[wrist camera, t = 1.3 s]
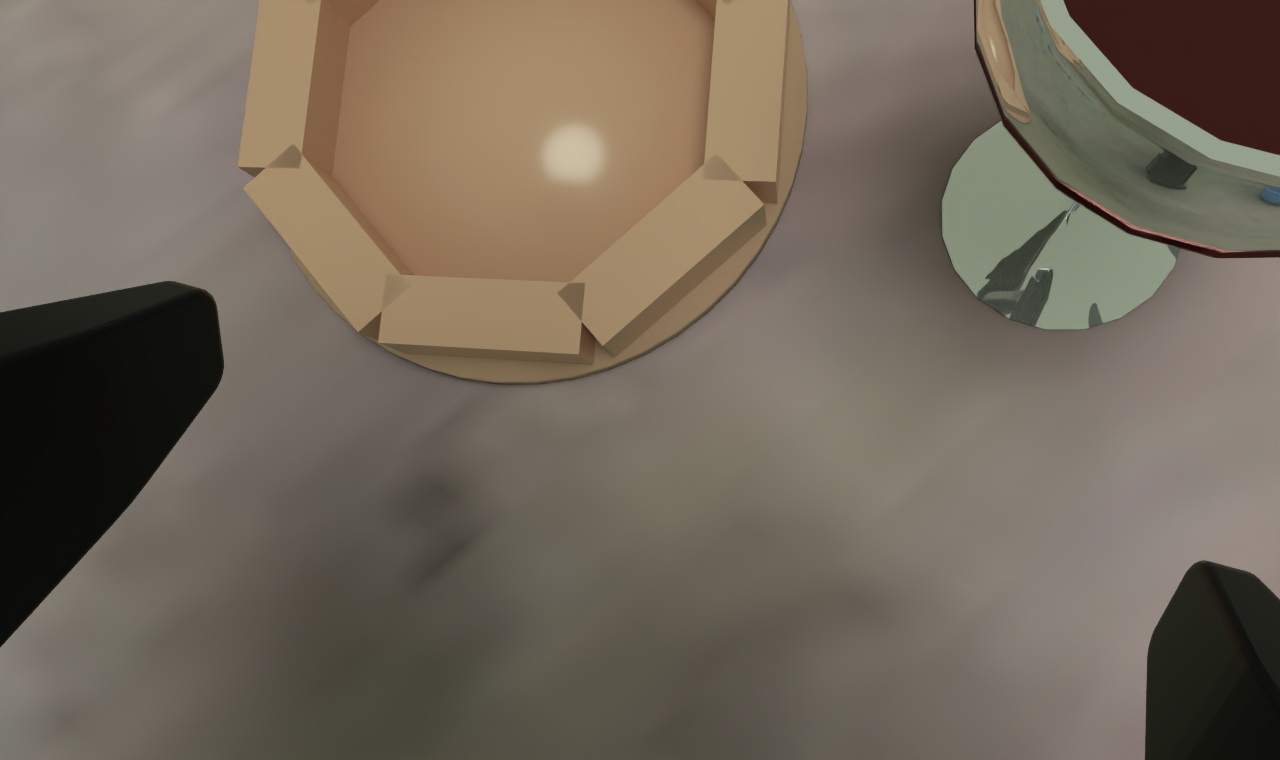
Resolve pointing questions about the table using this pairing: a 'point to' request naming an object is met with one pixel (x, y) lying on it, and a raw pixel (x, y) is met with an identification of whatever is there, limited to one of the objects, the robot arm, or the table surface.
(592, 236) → the coaster
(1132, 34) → the wineglass
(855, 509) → the table surface
